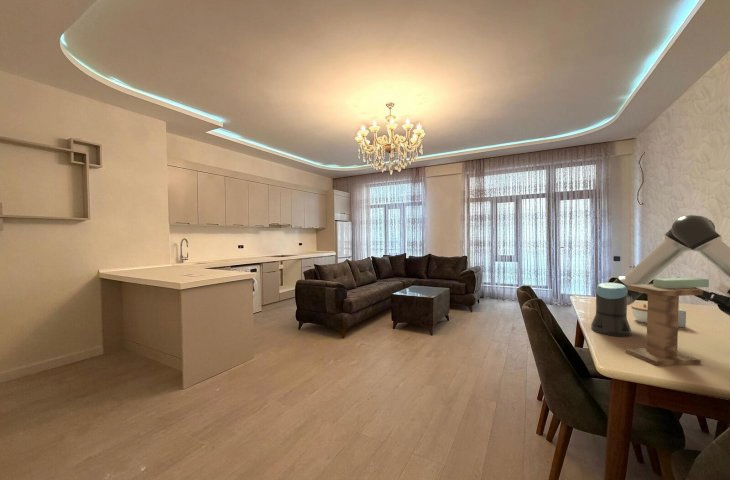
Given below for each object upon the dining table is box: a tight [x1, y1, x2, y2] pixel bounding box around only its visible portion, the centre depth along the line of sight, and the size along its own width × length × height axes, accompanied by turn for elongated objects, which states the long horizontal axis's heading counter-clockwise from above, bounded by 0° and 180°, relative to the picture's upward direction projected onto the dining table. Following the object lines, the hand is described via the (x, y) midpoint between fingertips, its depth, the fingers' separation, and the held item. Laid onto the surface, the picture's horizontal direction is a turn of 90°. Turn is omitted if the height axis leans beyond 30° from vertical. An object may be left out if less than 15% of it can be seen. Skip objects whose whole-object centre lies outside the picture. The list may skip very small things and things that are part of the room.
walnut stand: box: [625, 283, 704, 367], centre depth 114 cm, size 18×12×28 cm, turn 95°
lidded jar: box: [631, 303, 648, 324], centre depth 160 cm, size 11×11×9 cm
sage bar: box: [652, 277, 710, 288], centre depth 114 cm, size 19×4×3 cm, turn 95°
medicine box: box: [678, 308, 687, 328], centre depth 152 cm, size 8×4×9 cm, turn 58°
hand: (697, 282), depth 114 cm, fingers open, 13 cm apart
